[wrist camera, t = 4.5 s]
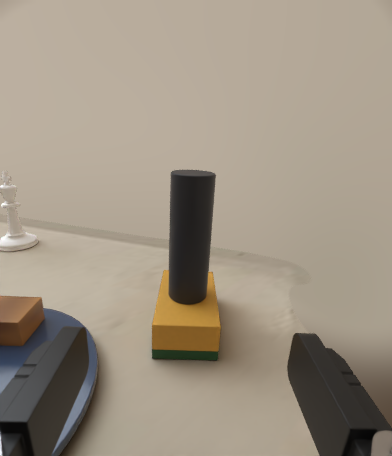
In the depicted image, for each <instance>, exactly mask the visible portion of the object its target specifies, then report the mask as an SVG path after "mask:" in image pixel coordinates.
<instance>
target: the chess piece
mask: <svg viewBox="0 0 392 456" xmlns="http://www.w3.org/2000/svg"><path fill="white" fill-rule="evenodd" d="M2 174H3V176H1V179H2V180H4V185H2V186H0V193H1V194H2V196H3V198H4V199H5V203H2V205H1V207H3V208H7V212H8V213H7V214H8V233H6V236H4V237H1V238H0V250H1V251H17V250H23V249H27V248H30V247H32V246H34V245H36V244H37V243H38V240H37V236H36V235H34V234H30V233H26V231H24V230H23V229H22V227H21V224H20V221H19V218H18V215H17V211H16V208H15V207H18V206H20V203H19V202H15V201H14V200H15V195H16V191H17V187H16V186H15V185H11V184H10V182H9V181H11V177H9V176H8V172H7V171H3V172H2Z"/></svg>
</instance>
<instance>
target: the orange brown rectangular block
mask: <svg viewBox="0 0 392 456" xmlns="http://www.w3.org/2000/svg"><path fill="white" fill-rule="evenodd" d="M44 319H45V317H44V310H43V304H42V298H41V297H16V296H0V345H3V346H23V345H24V344H25V342H26V341H27V340H28V339H29V337H30V336H31V335H32V334H33V332H34V331H35V330H36V329H37V328H38V326H39V325H40V324H41V323H42V321H43V320H44Z"/></svg>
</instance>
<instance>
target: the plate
mask: <svg viewBox="0 0 392 456" xmlns="http://www.w3.org/2000/svg"><path fill="white" fill-rule="evenodd" d="M43 310H44V317H45V319H44V320H43V321H42V323H41V324H40V325H39V326H38V328H37V329H36V330H35V331H34V332H33V334H32V335H31V336H30V337H29V339H28V340H27V341H26V342H25V344H24V345H23V346H3V345H0V394H1V393H2V391H3V390H4V389H5V387H6V386H7V385H8V383H9V382H10V381H11V379H12V378H14V377H15V374H16V373H17V371H18V370H19V369H20V367H22V366H23V363H24V362H25V360H26V359H27V358H28V356H29V355H30V354H31V352H32V351H33V350H35V349H36V348H37V347H39V346H40V345H41V344H42V343H44V342H45V341H53V340H54V339H55V337H56V336H57V334H58V333H59V331H60V330H61V329H62V328H63V327H64V326H69V327H85V326H84V325H82V324H81V323H80V322H79V321H78V320H76V319H75V318H73V317H71V316H69V315H67V314H65V313H62V312H59V311H56V310H52V309H46V308H43ZM85 328H86V327H85ZM86 332H87V341H88V351H89V368H88V372H87V375H86V378H85V380H84V383H83V385H82V387H81V389H80V392H79V394H78V396H77V398H76V401H75V403H74V405H73V408H72V410H71V412H70V414H69V417H68V419H67V421H66V423H65V426H64V428H63V430H62V433H61V435H60V437H59V439H58V442H57V444H56V446H55V449H54V451H53V453H52V455H51V456H59V455H60V453H61V452H62V451H63V449H64V448H65V447H66V445H67V444H68V442H69V441H70V440H71V438H72V436H73V435H74V433H75V431H76V429H77V428H78V426H79V424H80V423H81V421H82V419H83V417H84V415H85V413H86V410H87V408H88V406H89V404H90V402H91V398H92V395H93V392H94V389H95V386H96V380H97V373H98V358H97V351H96V346H95V343H94V340H93V338H92V336H91V334H90V333H89V331H88V330H87V329H86Z"/></svg>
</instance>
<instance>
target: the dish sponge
mask: <svg viewBox="0 0 392 456" xmlns="http://www.w3.org/2000/svg"><path fill="white" fill-rule="evenodd" d="M215 177H216V175H215V174H214V173H212V172H207V171H199V170H175V171H172V172H171V191H170V240H169V270H164V271H163V276H162V281H161V286H160V290H159V295H158V300H157V304H156V309H155V314H154V318H153V323H152V358H157V359H191V360H218V350H219V341H220V331H221V325H220V318H219V312H218V305H217V298H216V292H215V285H214V278H213V272H208V271H209V257H210V244H211V230H212V217H213V204H214V190H215Z"/></svg>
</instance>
